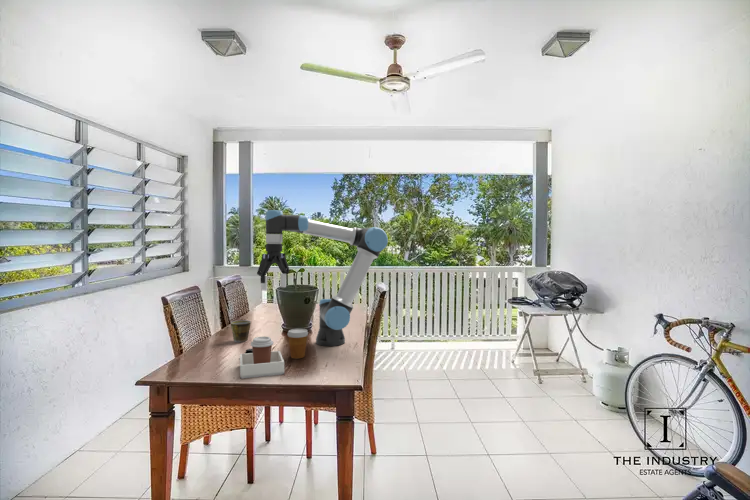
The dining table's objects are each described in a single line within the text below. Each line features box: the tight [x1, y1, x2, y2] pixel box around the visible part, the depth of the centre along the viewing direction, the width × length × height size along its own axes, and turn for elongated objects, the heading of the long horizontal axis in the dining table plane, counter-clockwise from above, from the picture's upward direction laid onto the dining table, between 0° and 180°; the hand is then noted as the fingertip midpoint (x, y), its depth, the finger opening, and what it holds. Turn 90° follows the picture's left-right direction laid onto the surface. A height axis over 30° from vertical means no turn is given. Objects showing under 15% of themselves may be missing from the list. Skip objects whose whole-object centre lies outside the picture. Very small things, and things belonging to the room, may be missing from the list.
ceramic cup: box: [230, 319, 252, 343], centre depth 209 cm, size 13×10×10 cm
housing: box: [239, 350, 285, 379], centre depth 165 cm, size 17×17×5 cm
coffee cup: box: [250, 336, 274, 364], centre depth 165 cm, size 9×9×12 cm
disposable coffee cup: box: [286, 328, 309, 360], centre depth 184 cm, size 10×10×12 cm
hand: (274, 288), depth 187 cm, fingers open, 13 cm apart
